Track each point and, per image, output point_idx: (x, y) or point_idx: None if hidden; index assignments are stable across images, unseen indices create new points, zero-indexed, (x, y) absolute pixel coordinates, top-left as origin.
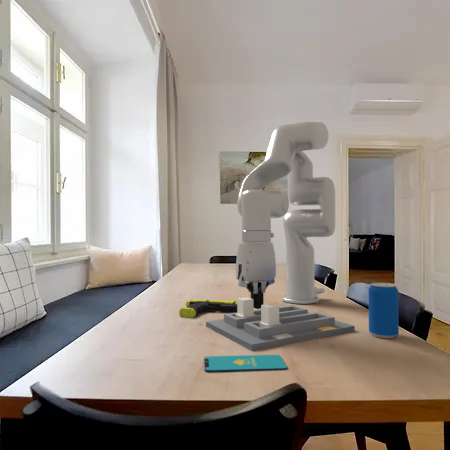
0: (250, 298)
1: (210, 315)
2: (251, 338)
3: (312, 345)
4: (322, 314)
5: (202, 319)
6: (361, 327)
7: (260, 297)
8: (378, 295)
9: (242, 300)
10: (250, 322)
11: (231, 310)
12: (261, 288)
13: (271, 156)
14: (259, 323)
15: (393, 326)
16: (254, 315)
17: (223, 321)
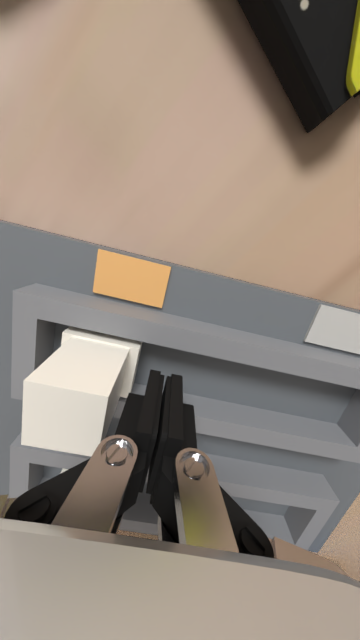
0: (97, 435)
1: (122, 13)
2: (6, 475)
3: (134, 535)
4: (316, 525)
5: (28, 72)
6: (354, 532)
7: (148, 473)
8: None
9: (23, 434)
10: (35, 454)
11: (271, 55)
12: (159, 535)
13: None
14: (61, 471)
15: None
16: (125, 395)
17: (40, 273)
